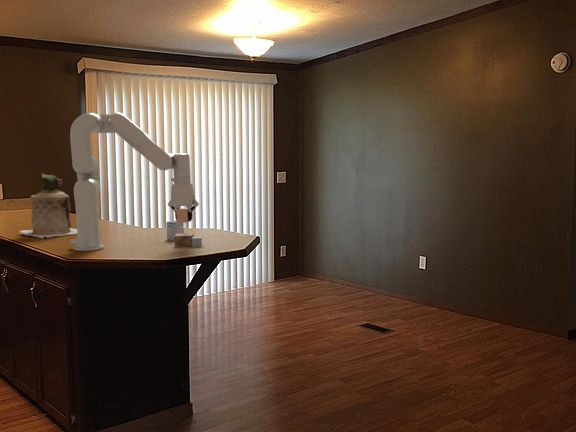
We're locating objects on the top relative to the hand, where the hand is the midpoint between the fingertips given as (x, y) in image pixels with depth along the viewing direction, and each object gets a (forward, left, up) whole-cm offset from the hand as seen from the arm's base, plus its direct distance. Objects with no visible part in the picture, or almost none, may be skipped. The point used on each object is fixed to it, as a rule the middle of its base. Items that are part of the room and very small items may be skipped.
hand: (184, 220), depth 263 cm
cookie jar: (-83, +25, -12) cm, 88 cm away
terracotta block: (0, 0, -1) cm, 1 cm away
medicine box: (-11, +17, -12) cm, 23 cm away
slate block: (+7, -3, -12) cm, 14 cm away
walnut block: (0, 0, -12) cm, 12 cm away
